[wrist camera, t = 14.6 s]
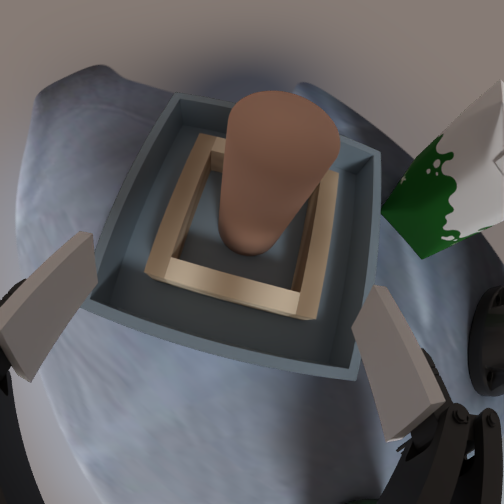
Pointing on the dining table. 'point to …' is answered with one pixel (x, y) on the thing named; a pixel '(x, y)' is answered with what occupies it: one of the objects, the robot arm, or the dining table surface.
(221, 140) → the socket block
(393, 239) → the dining table surface
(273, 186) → the peg
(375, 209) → the bin
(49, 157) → the dining table surface
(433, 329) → the dining table surface
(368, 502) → the coffee jar
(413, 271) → the dining table surface
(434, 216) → the milk carton
